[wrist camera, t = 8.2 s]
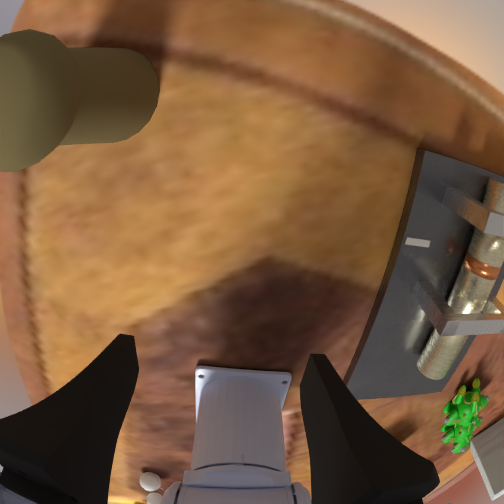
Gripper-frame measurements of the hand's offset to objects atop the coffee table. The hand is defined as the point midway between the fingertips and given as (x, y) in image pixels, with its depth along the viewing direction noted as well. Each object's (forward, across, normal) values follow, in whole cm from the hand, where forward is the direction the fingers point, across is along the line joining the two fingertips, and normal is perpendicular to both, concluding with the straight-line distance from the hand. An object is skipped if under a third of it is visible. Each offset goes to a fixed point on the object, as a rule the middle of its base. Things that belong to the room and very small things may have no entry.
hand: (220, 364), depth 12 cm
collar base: (+9, -17, +2) cm, 19 cm away
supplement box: (+10, -46, +30) cm, 56 cm away
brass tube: (+7, -18, -1) cm, 19 cm away
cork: (+10, +8, -10) cm, 16 cm away
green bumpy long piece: (+10, -31, +19) cm, 38 cm away
